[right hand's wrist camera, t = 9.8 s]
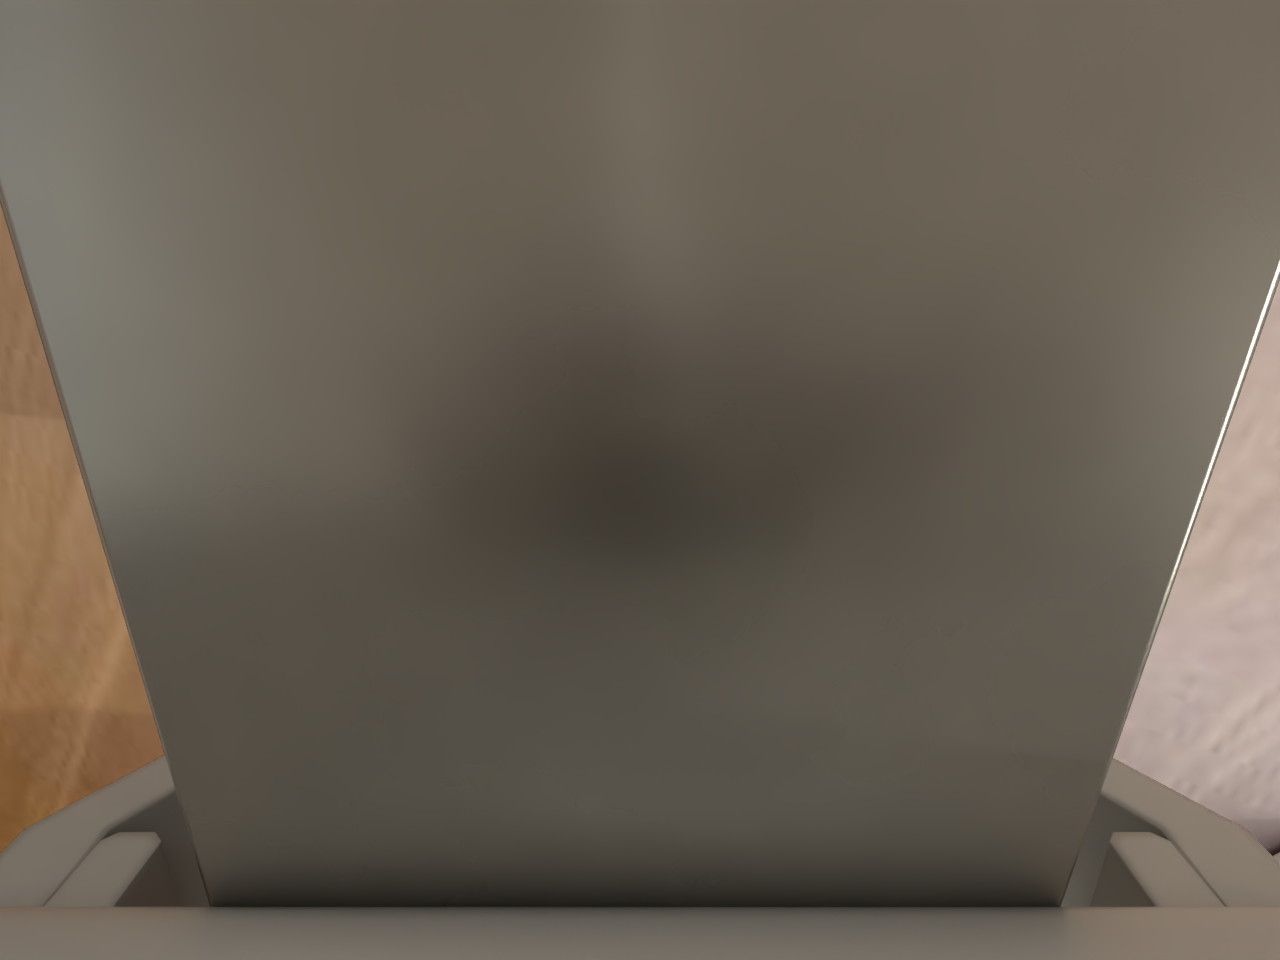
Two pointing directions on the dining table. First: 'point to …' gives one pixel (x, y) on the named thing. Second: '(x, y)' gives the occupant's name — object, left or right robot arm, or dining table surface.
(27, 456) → the dining table surface
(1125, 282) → the box
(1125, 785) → the right robot arm
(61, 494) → the dining table surface
